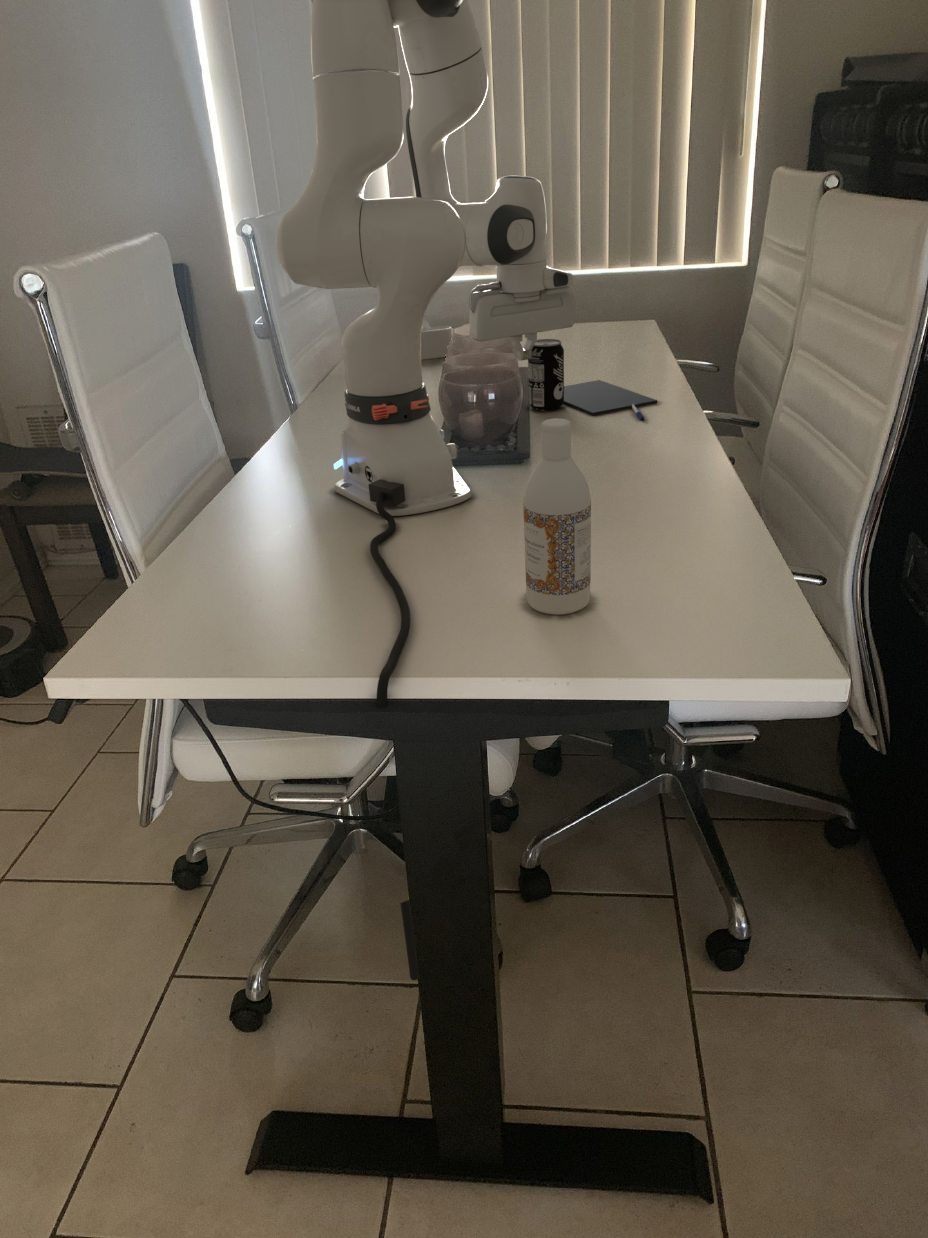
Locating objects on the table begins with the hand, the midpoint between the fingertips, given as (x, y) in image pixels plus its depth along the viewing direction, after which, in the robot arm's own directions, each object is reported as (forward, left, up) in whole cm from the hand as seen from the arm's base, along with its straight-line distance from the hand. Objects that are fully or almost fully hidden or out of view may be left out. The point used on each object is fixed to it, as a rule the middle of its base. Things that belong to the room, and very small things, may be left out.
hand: (524, 359), depth 161 cm
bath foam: (-70, +34, -10) cm, 79 cm away
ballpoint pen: (-14, -15, -10) cm, 23 cm away
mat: (0, -15, -9) cm, 18 cm away
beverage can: (0, -4, -10) cm, 10 cm away
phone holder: (+63, -6, -10) cm, 64 cm away
